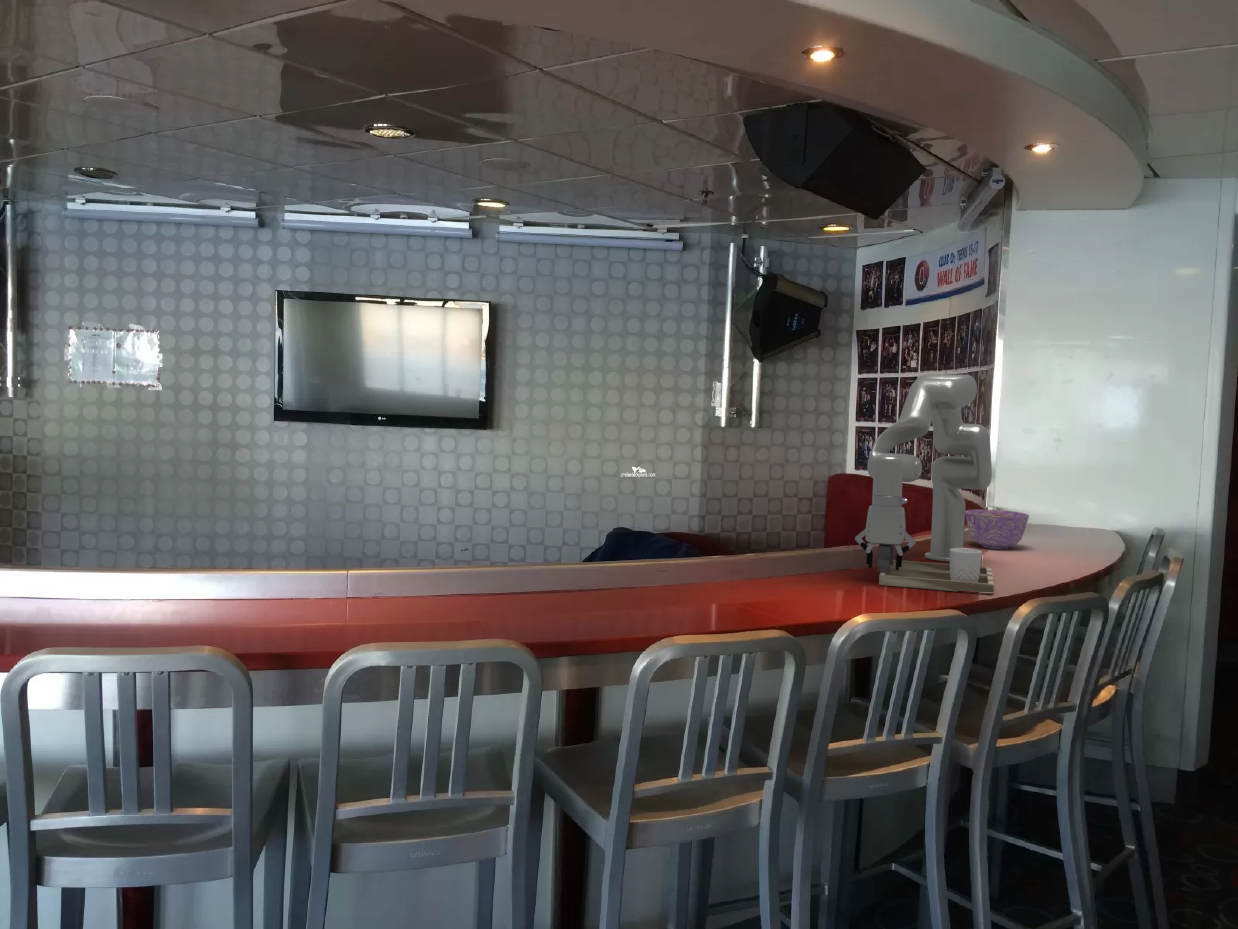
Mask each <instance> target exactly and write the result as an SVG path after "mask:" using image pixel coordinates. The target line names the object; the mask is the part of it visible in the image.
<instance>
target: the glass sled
mask: <svg viewBox="0 0 1238 929" xmlns="http://www.w3.org/2000/svg"><path fill="white" fill-rule="evenodd" d="M877 547H878V549H877V551H878V552H877V570H876V572H877V573H879V575H878V576H879V577H878V578H879V580H878V584H879V585H880V586H889V587H890V586H891V587H902V588H913V589H926V590H927V589H928V590H935V591H936V590H937V591H946V592H947V591H950V592H958V591H975V592H993V593H994V587H995V584H994V578H993V575H992V576H987V575H979V579H978V583H975V582H963V581H951V579H950V573H949V572H937V571H924V570H911V569H899V570H896V568H890V559H891V545H885V544H878V546H877Z"/></svg>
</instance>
